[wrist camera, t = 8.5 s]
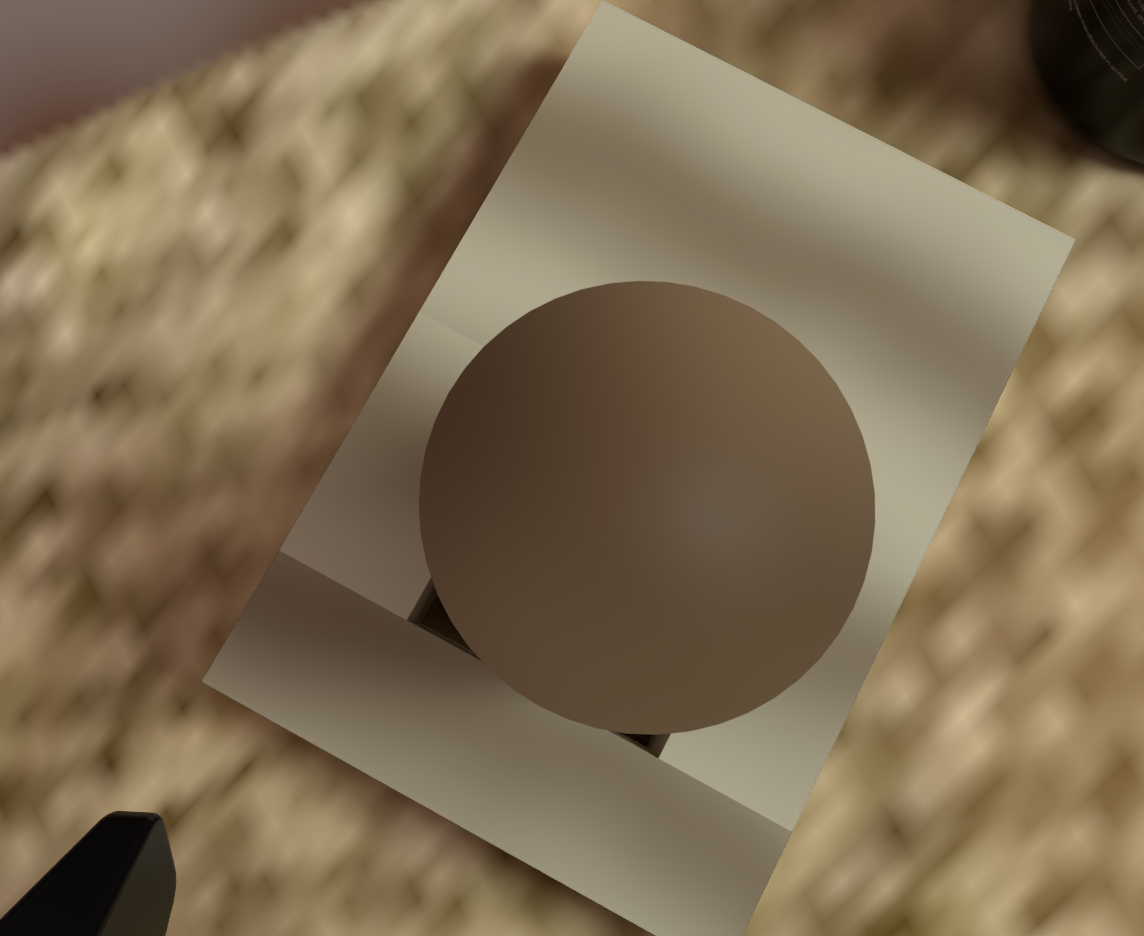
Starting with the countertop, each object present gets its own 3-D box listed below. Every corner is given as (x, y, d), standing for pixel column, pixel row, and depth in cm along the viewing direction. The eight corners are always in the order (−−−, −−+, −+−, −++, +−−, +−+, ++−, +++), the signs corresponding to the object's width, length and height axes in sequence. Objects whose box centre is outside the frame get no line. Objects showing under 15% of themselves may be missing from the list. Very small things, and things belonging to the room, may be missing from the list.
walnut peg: (640, 730, 23) (749, 821, 11) (441, 621, 23) (332, 592, 11) (742, 530, 23) (949, 410, 11) (548, 427, 24) (556, 205, 12)
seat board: (703, 937, 22) (724, 974, 19) (238, 677, 22) (201, 681, 20) (1021, 280, 24) (1076, 239, 22) (596, 63, 25) (602, -1, 23)
